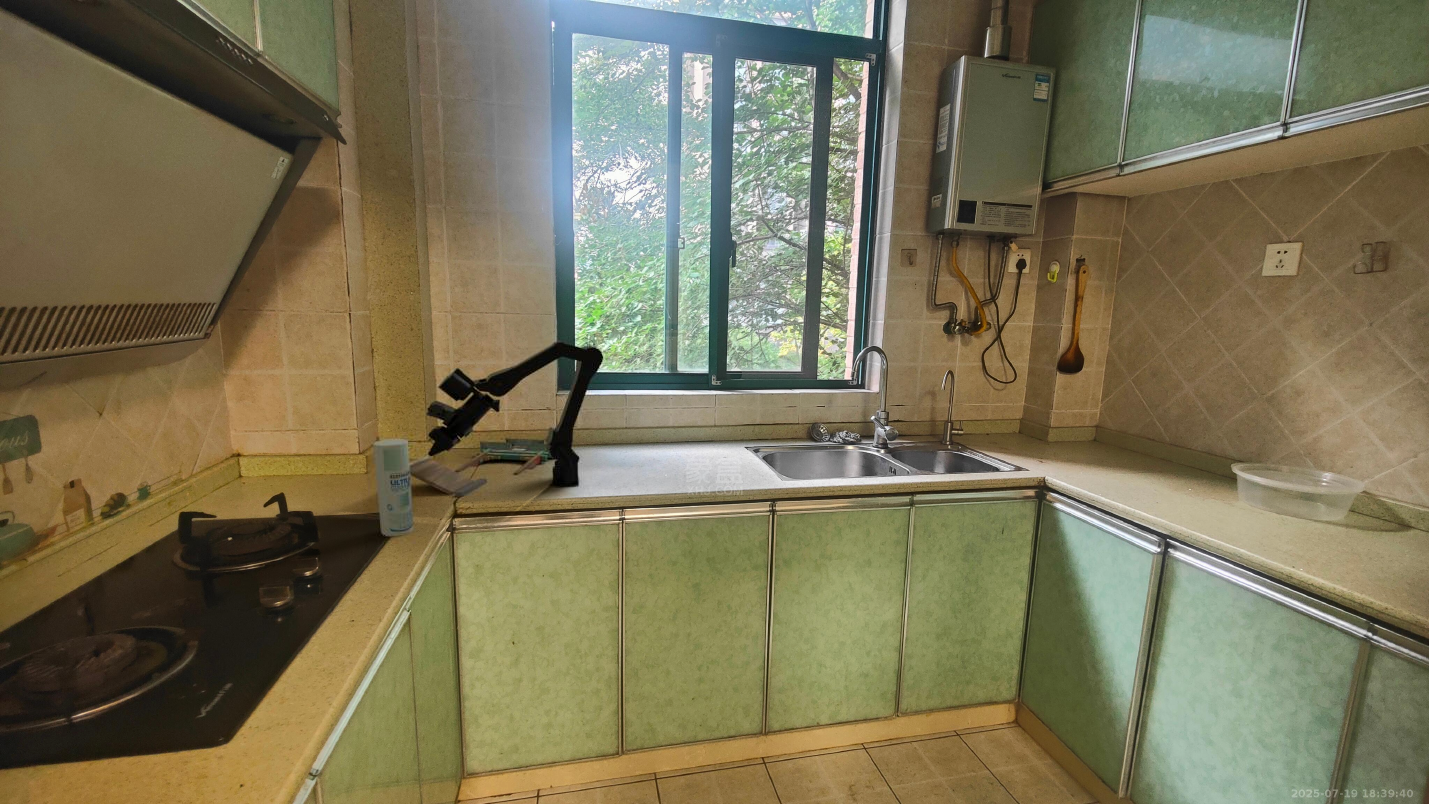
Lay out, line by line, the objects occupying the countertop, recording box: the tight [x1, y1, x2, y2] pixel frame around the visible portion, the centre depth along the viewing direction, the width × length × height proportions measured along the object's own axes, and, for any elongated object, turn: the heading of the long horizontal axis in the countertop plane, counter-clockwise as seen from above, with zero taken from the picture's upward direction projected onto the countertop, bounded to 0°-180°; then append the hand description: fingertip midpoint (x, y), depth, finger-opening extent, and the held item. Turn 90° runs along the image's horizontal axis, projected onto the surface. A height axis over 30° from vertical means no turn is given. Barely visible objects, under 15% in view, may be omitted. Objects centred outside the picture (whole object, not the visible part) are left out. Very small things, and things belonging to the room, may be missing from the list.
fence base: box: [454, 478, 488, 498], centre depth 154 cm, size 2×12×2 cm, turn 173°
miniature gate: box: [454, 437, 555, 476], centre depth 183 cm, size 27×6×30 cm
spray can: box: [372, 438, 414, 537], centre depth 126 cm, size 6×6×20 cm
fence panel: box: [409, 455, 475, 496], centre depth 154 cm, size 1×10×15 cm
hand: (429, 455), depth 151 cm, fingers closed
